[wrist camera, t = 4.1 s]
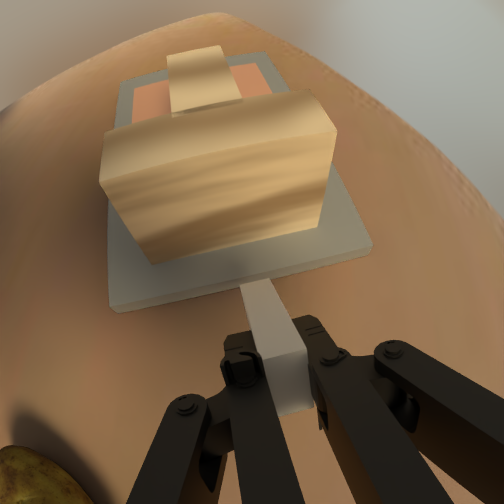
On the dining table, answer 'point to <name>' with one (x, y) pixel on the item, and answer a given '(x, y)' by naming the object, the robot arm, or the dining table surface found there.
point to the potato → (35, 479)
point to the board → (236, 257)
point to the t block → (218, 163)
